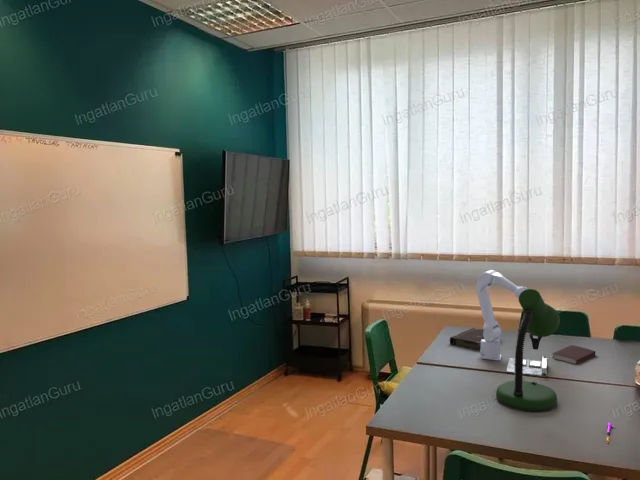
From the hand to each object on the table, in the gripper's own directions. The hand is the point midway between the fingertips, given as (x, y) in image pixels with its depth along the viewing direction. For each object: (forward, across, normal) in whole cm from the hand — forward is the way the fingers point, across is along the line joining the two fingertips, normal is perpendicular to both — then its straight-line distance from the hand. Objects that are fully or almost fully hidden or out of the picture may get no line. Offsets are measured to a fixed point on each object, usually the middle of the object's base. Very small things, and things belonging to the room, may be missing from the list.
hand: (535, 349), depth 244 cm
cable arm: (+7, -5, -4) cm, 9 cm away
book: (+9, +21, -17) cm, 28 cm away
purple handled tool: (+9, -63, -26) cm, 68 cm away
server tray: (+8, -4, +4) cm, 10 cm away
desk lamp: (+9, -39, +1) cm, 40 cm away
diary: (+9, +30, +31) cm, 44 cm away
